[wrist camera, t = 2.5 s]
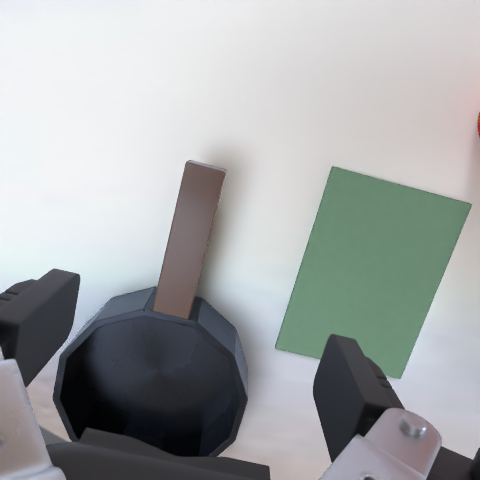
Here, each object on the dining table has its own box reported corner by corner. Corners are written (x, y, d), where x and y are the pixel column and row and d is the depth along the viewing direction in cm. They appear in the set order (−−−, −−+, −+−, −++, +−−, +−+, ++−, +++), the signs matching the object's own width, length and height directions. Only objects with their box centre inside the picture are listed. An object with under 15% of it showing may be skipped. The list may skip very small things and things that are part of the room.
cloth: (331, 166, 28) (332, 166, 28) (469, 203, 29) (472, 204, 29) (274, 346, 32) (275, 348, 31) (399, 376, 32) (400, 378, 32)
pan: (117, 136, 28) (97, 137, 24) (302, 186, 29) (311, 194, 25) (65, 417, 34) (42, 455, 30) (221, 453, 34) (218, 494, 30)
